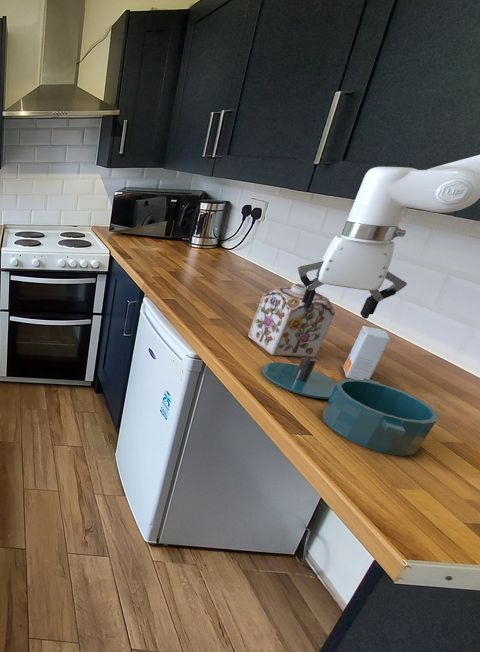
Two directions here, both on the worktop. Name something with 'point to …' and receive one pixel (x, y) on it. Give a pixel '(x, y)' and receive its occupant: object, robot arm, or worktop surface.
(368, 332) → the cosmetic box
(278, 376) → the lid
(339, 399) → the pot
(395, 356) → the worktop surface
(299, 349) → the decorative jar
